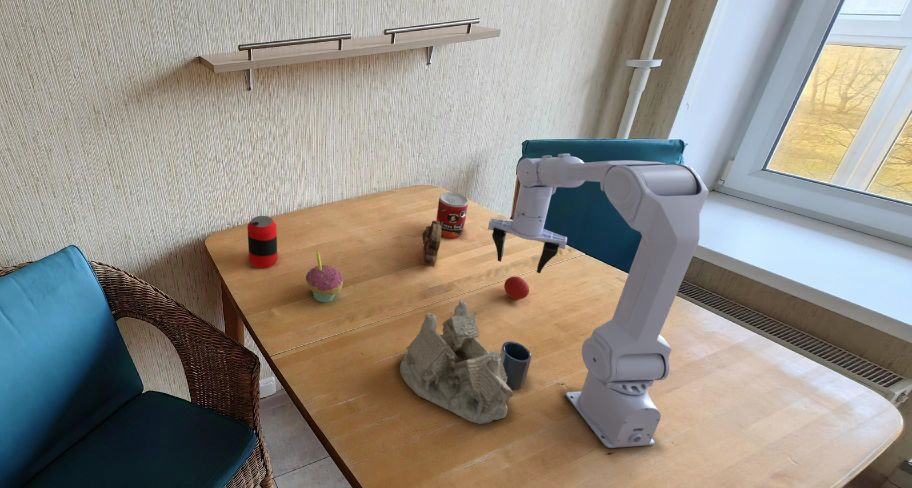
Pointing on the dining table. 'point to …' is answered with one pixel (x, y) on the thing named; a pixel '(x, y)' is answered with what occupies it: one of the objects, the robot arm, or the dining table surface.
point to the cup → (515, 363)
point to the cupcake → (324, 281)
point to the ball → (516, 287)
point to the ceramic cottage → (457, 369)
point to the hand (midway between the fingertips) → (518, 264)
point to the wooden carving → (431, 243)
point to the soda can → (262, 242)
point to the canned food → (452, 214)
